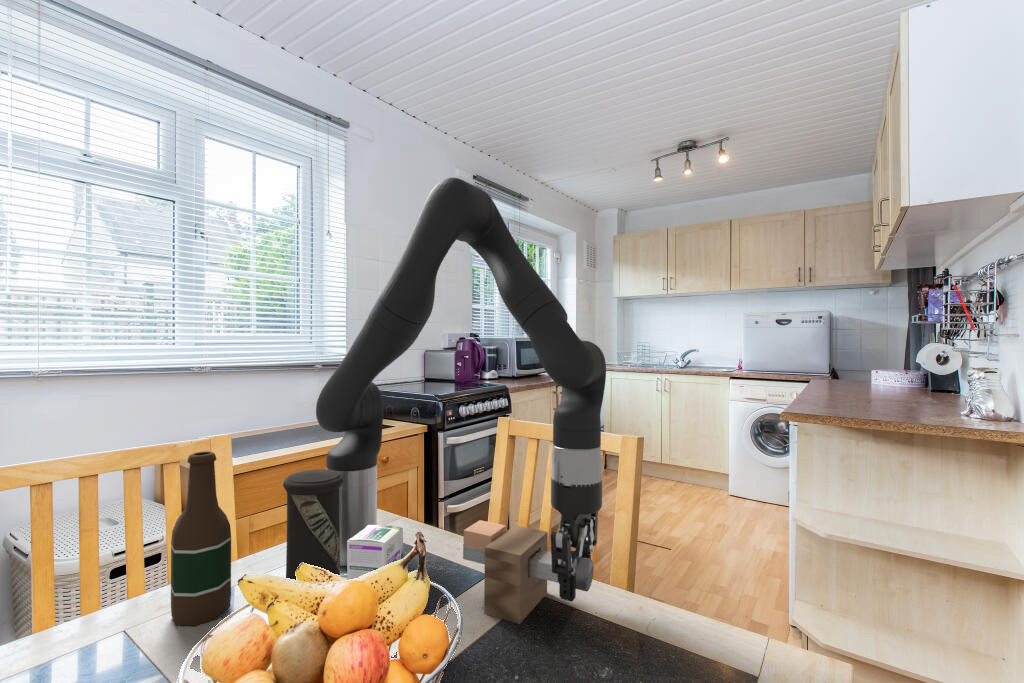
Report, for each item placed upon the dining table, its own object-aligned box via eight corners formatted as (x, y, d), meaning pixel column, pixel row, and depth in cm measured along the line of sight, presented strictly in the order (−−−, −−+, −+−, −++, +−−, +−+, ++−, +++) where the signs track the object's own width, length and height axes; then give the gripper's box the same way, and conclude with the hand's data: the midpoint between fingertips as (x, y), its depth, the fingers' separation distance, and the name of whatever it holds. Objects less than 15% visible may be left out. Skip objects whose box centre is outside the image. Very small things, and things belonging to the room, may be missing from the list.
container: (306, 619, 72) (307, 483, 72) (270, 602, 77) (271, 474, 77) (354, 593, 79) (354, 470, 79) (318, 579, 84) (319, 462, 84)
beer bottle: (242, 607, 75) (243, 450, 75) (191, 634, 68) (192, 462, 68) (210, 595, 79) (210, 445, 78) (157, 620, 71) (158, 456, 71)
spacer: (463, 545, 79) (463, 530, 79) (479, 534, 83) (479, 520, 83) (490, 552, 76) (490, 536, 76) (505, 540, 81) (505, 525, 81)
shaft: (462, 565, 79) (462, 538, 79) (476, 555, 83) (476, 529, 83) (583, 597, 70) (583, 566, 70) (593, 583, 74) (593, 554, 74)
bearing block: (484, 613, 74) (484, 547, 74) (514, 584, 83) (514, 525, 83) (519, 624, 71) (520, 555, 71) (547, 592, 80) (547, 531, 80)
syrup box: (386, 652, 65) (387, 542, 65) (345, 646, 66) (346, 538, 66) (404, 627, 70) (405, 526, 70) (366, 622, 71) (367, 522, 71)
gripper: (569, 461, 81) (569, 563, 81) (532, 484, 68) (532, 605, 68) (614, 467, 77) (613, 573, 77) (584, 492, 64) (583, 619, 64)
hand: (575, 588), depth 73 cm, fingers open, 6 cm apart
